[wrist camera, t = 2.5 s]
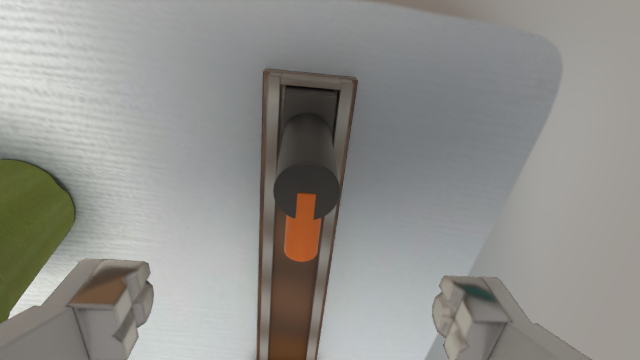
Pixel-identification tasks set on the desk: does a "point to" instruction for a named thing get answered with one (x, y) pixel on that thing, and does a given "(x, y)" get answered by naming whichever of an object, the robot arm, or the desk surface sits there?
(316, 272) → the rail
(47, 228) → the plant pot
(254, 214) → the desk surface
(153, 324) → the desk surface
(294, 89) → the nozzle
